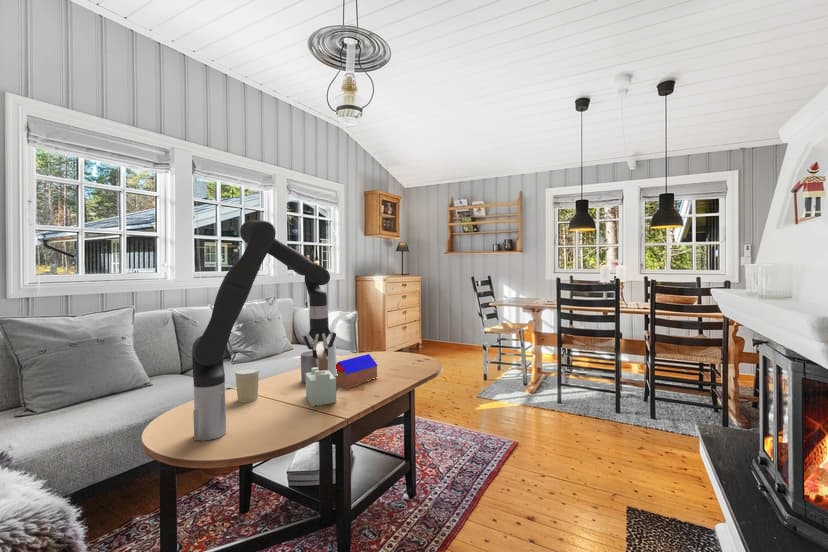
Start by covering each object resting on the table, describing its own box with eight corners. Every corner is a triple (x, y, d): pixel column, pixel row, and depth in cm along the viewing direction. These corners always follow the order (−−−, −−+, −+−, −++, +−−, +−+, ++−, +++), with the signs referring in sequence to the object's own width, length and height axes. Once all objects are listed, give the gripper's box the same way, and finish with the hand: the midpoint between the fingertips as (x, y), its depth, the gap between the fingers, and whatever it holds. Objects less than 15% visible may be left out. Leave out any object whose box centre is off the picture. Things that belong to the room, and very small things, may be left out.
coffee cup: (251, 394, 173) (251, 367, 173) (264, 398, 168) (263, 370, 168) (231, 400, 166) (230, 372, 165) (243, 404, 160) (243, 375, 160)
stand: (311, 406, 157) (310, 376, 157) (306, 396, 170) (305, 368, 169) (336, 402, 161) (335, 373, 161) (329, 392, 174) (328, 365, 174)
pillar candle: (319, 377, 200) (318, 347, 199) (323, 382, 191) (322, 351, 190) (299, 379, 196) (298, 349, 195) (302, 384, 187) (301, 353, 186)
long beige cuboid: (318, 371, 156) (318, 359, 154) (313, 354, 168) (313, 343, 167) (327, 370, 157) (327, 358, 156) (321, 353, 169) (321, 343, 168)
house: (378, 378, 196) (377, 355, 196) (347, 388, 180) (347, 363, 180) (361, 375, 203) (360, 352, 203) (330, 384, 188) (330, 359, 187)
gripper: (302, 319, 155) (304, 362, 156) (337, 316, 161) (339, 358, 161) (300, 317, 162) (301, 358, 163) (334, 314, 168) (335, 354, 168)
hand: (320, 358), depth 162 cm, fingers closed on long beige cuboid, 3 cm apart
